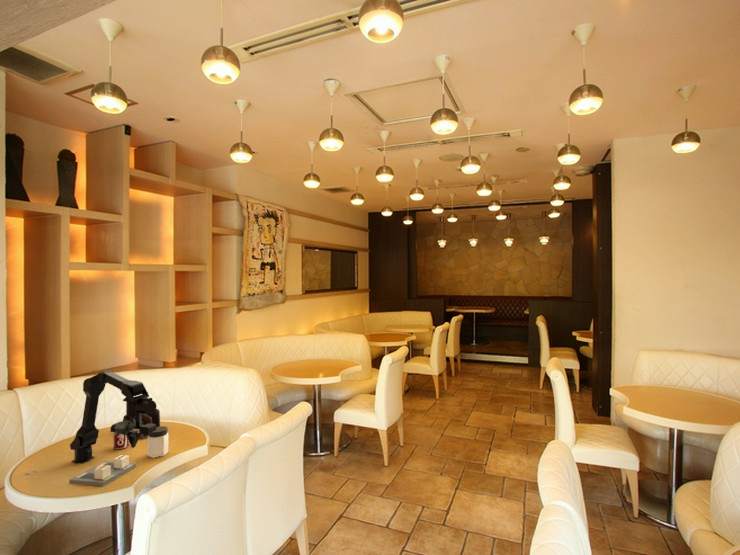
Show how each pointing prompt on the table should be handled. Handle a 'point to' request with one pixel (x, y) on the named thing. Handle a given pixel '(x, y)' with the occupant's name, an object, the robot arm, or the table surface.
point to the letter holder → (150, 421)
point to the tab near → (102, 472)
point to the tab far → (121, 461)
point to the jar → (158, 442)
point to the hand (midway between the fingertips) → (133, 447)
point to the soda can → (120, 441)
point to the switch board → (88, 479)
